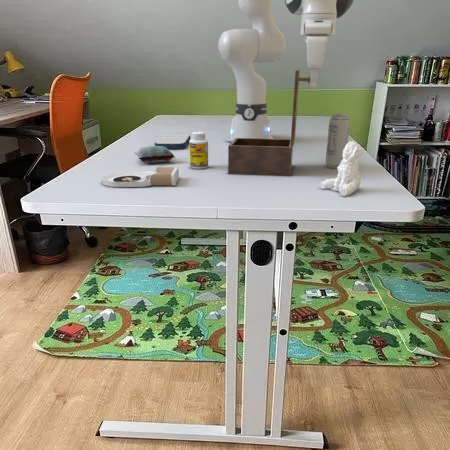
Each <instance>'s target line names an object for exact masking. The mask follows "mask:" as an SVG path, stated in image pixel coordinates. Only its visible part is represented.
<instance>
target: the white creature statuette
mask: <svg viewBox="0 0 450 450" xmlns="http://www.w3.org/2000/svg"><path fill="white" fill-rule="evenodd" d="M365 151H366V148H362V146H361V145H360V144H359V143H357V142H356V141H353V140H350V141H349V140H348V143H347V144H346V146H345V149H343V154H342V156H343V160H342V161H341V163H340V165H339V166H338V167H337V168H336V169H337V176H336V177H334V178H326V179H325V180H322V181H321V182H320V188H321V190H331V191H335V192H338V193H340V195H341V197H349V196H351V195H352V194H353V193H355V192H356V191H357V190H358V189H360V185H361V183H362V179H361V176H360V173H359V168H360V167H359V166H358V162H357V161H356V160H358V159H360V157H361V156H362V155H363V154H364V153H365Z"/></svg>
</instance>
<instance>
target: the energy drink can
mask: <svg viewBox="0 0 450 450" xmlns="http://www.w3.org/2000/svg"><path fill="white" fill-rule="evenodd" d="M349 116H350V114H348V113H331V117H330V118H329V120H328V129H327V130H328V131H327V142H326V152H325V162H324V163H325V164H326V167H327V168H331V169H337V167H338V166H339V165H340V163H341V161H342V160H343V156H342V154H343V149H345V146H346V144H347V143H349V136H350V128H351V127H350V126H351V120H350V117H349Z"/></svg>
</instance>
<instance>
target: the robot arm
mask: <svg viewBox="0 0 450 450" xmlns="http://www.w3.org/2000/svg"><path fill="white" fill-rule="evenodd" d="M353 3H354V0H284V5H285V6H286V8H287V10H288V11H289V13H291V15H294V16H295V15H296V16H301V19H300V20H301V22H300V36H303V37H304V44H306V62H307V68H308V69H310V71H309V72H310V73H309V76H310V83H309V87H310V88H317V86H318V79H319V78H318V77H319V71H320V69H322V68H323V65H324V61H325V56H326V50H327V46H328V44H329V43H330V37H332V36H335V35H336V26H337V19H340V18H341V17H343V16H344V15H345V14H346V13H347V12H348V11H349V10H350V8H351V7H352V5H353ZM238 8H239V10H240V12H241V13H242V14H243V15H244V16H245V17H247V18H248V19H249V20H250V22H251V28H233V29H229V30H225V31H223V32H222V33H221V34H220V37H219V38H218V42H217V43H218V44H217V50H218V54H219V56H220V58H221V59H222V60H223V61H224V62H225V63H226V64H227V65H228V66H229V67H230V69H231V71H232V73H233V75H234V79H235V86H236V103H235V108H234V109H235V116H234V117H233V118H232V119H231V129H230V137H229V136H228V137H227V138H226V142H229V143H231V142H232V141H233V140H234V139H235V138H259V139H274V137H273V135H271V133H272V130H271V129H270V127H271V120H270V117H268V116H267V112H268V104H267V82H266V79H265V77H263V76H261V75H260V74H259V73H257V72H256V70H255V68H254V64H269V63H273V62H278V61H280V60H281V59H282V58H283V57H284V55H285V53H286V50H287V40H286V37H285V35H284V33H282V31H281V30H280V29H279V28H278V26H277V24H276V23H275V20H274V17H273V13H272V12H273V11H272V0H238Z"/></svg>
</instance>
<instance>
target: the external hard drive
mask: <svg viewBox="0 0 450 450" xmlns="http://www.w3.org/2000/svg"><path fill="white" fill-rule="evenodd" d="M190 140H191V134H189V133H164V134H161V135H160V136H159V137H158V138H157V139H156V140H155V141H154V146H163V147H166V148H168V149H182V148H185V147H186V146H187V145H188V143H189V141H190Z"/></svg>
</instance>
